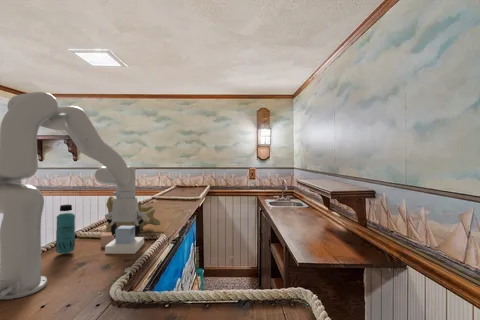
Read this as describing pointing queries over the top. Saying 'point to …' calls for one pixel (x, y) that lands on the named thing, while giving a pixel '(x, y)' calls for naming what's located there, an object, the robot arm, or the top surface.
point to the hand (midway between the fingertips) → (125, 234)
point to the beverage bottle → (65, 230)
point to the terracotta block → (106, 238)
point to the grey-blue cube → (124, 234)
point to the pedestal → (124, 247)
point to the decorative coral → (148, 219)
